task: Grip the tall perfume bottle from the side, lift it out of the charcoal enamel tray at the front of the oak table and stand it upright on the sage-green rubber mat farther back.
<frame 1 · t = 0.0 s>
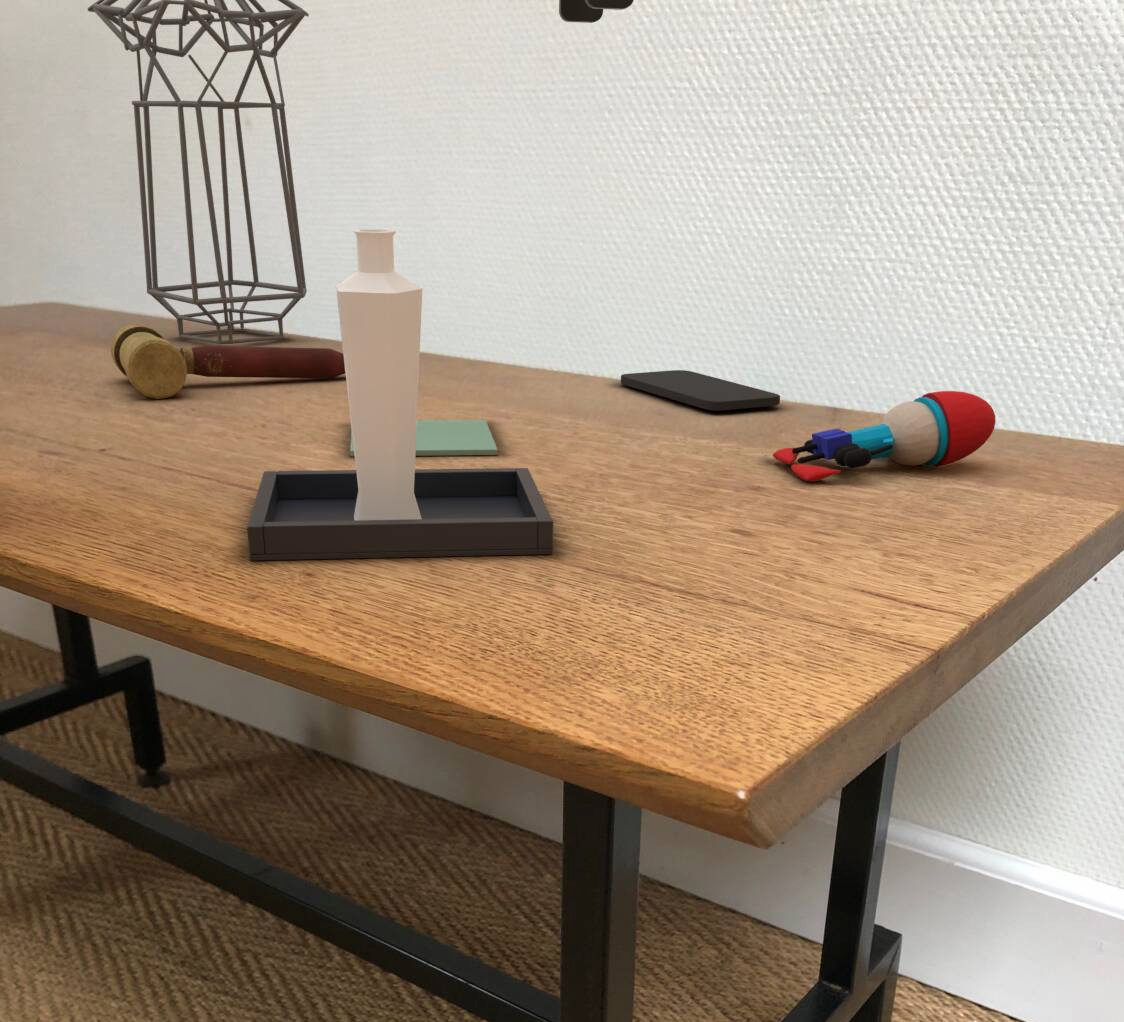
hand: (593, 15, 61), 25 cm above the table, tool pointing down, fingers open, 8 cm apart
geometric lantern: (229, 342, 131), on the table
tray: (401, 526, 71), on the table
gavel: (249, 385, 109), on the table
toy figure: (886, 470, 86), on the table
perfume bottle: (382, 524, 70), resting on tray
mat: (421, 439, 90), on the table
phone: (696, 396, 108), on the table
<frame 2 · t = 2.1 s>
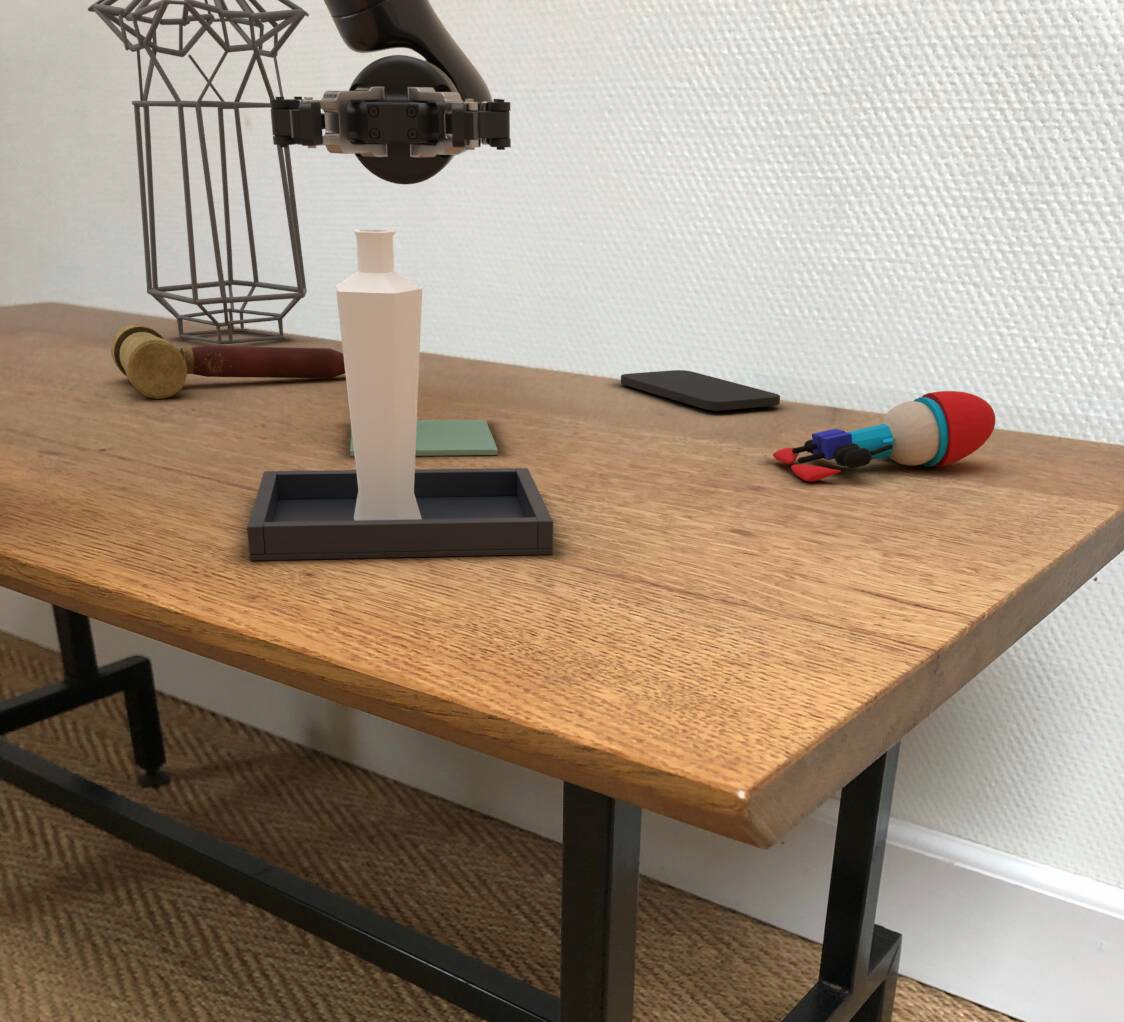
hand: (382, 125, 71), 20 cm above the table, tool horizontal, fingers open, 8 cm apart
nothing on the table moved.
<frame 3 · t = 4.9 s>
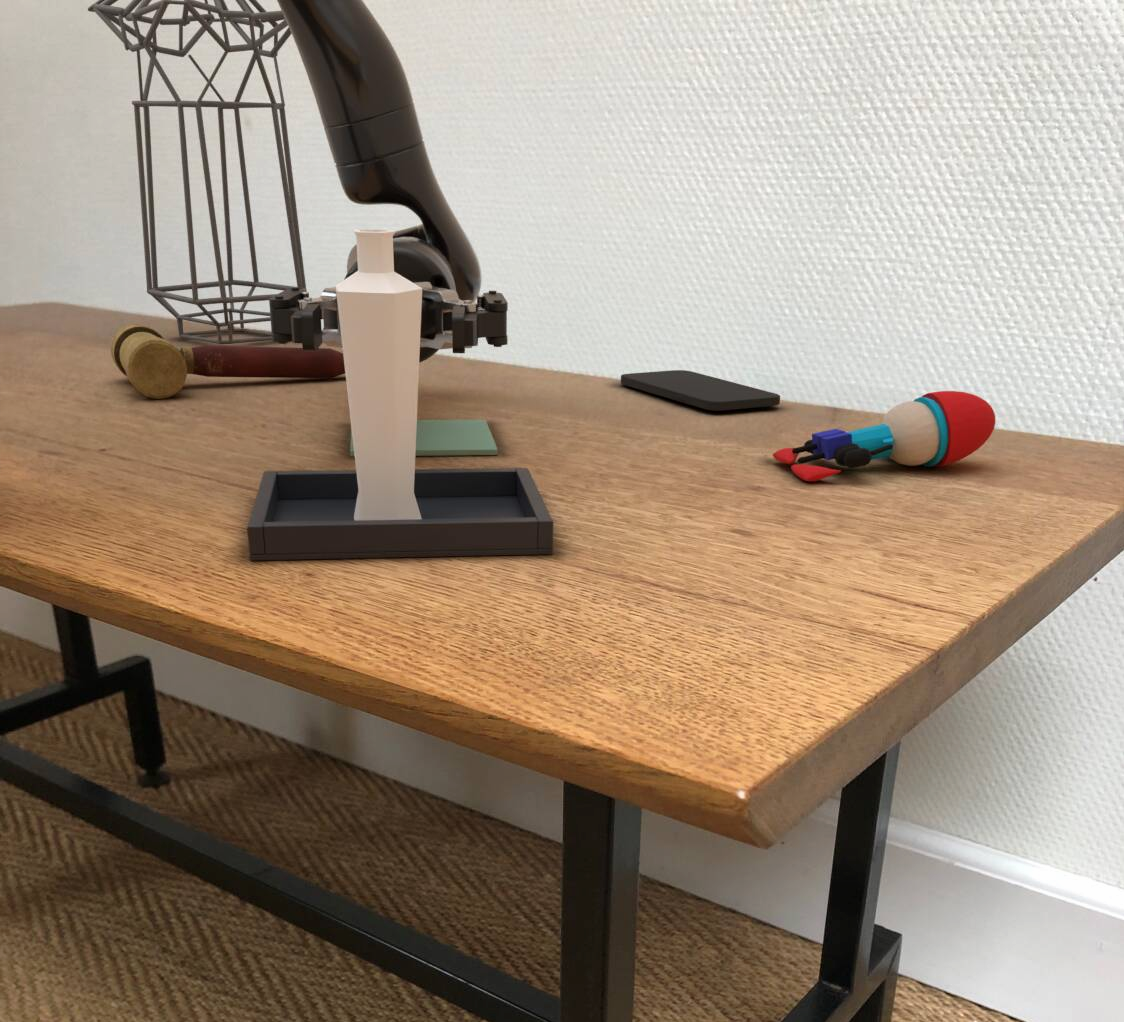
hand: (383, 333, 72), 9 cm above the table, tool horizontal, fingers open, 8 cm apart
nothing on the table moved.
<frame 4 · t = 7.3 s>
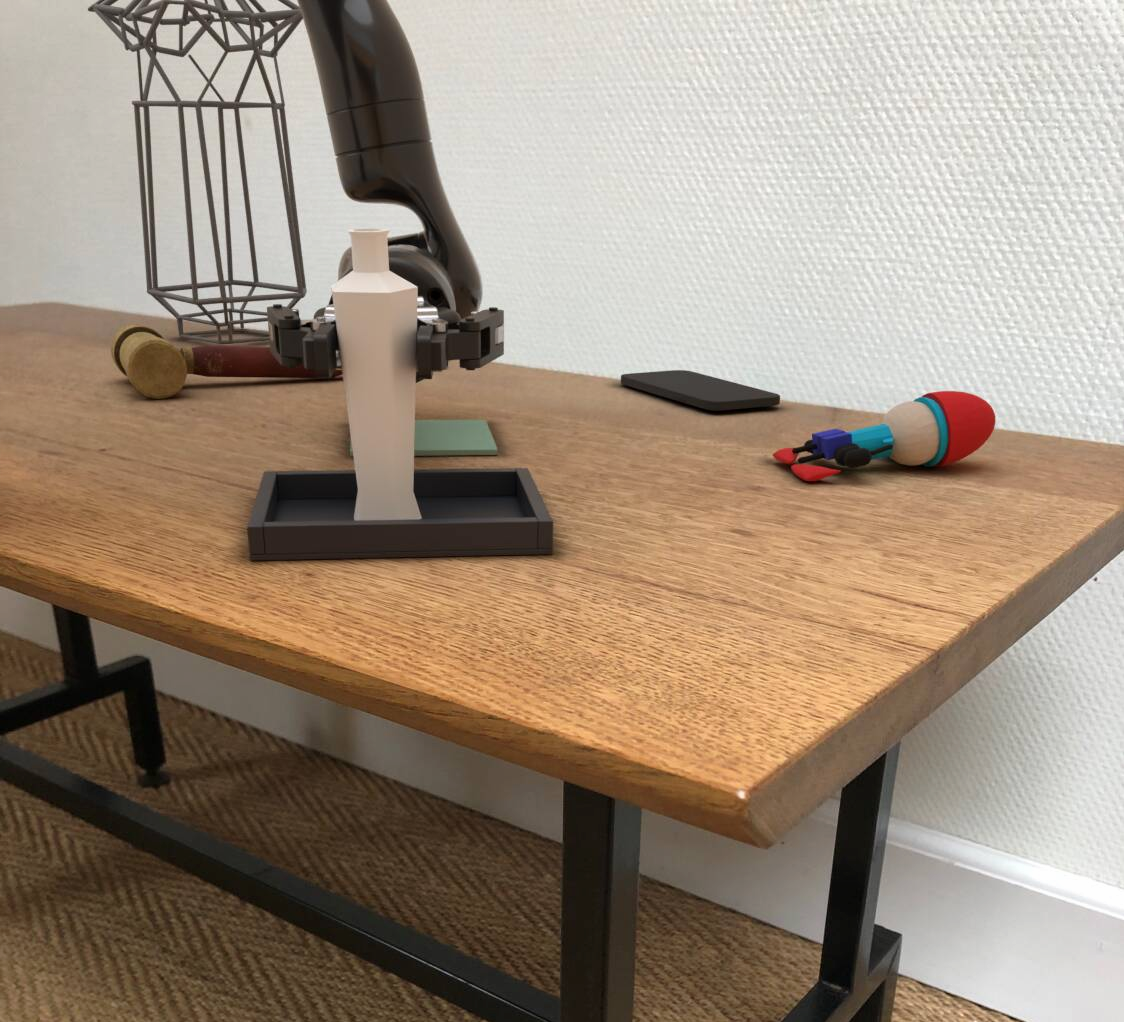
hand: (373, 357, 64), 10 cm above the table, tool horizontal, fingers closed on perfume bottle, 4 cm apart
perfume bottle: (383, 524, 70), resting on tray, touching gripper
everything else where it was.
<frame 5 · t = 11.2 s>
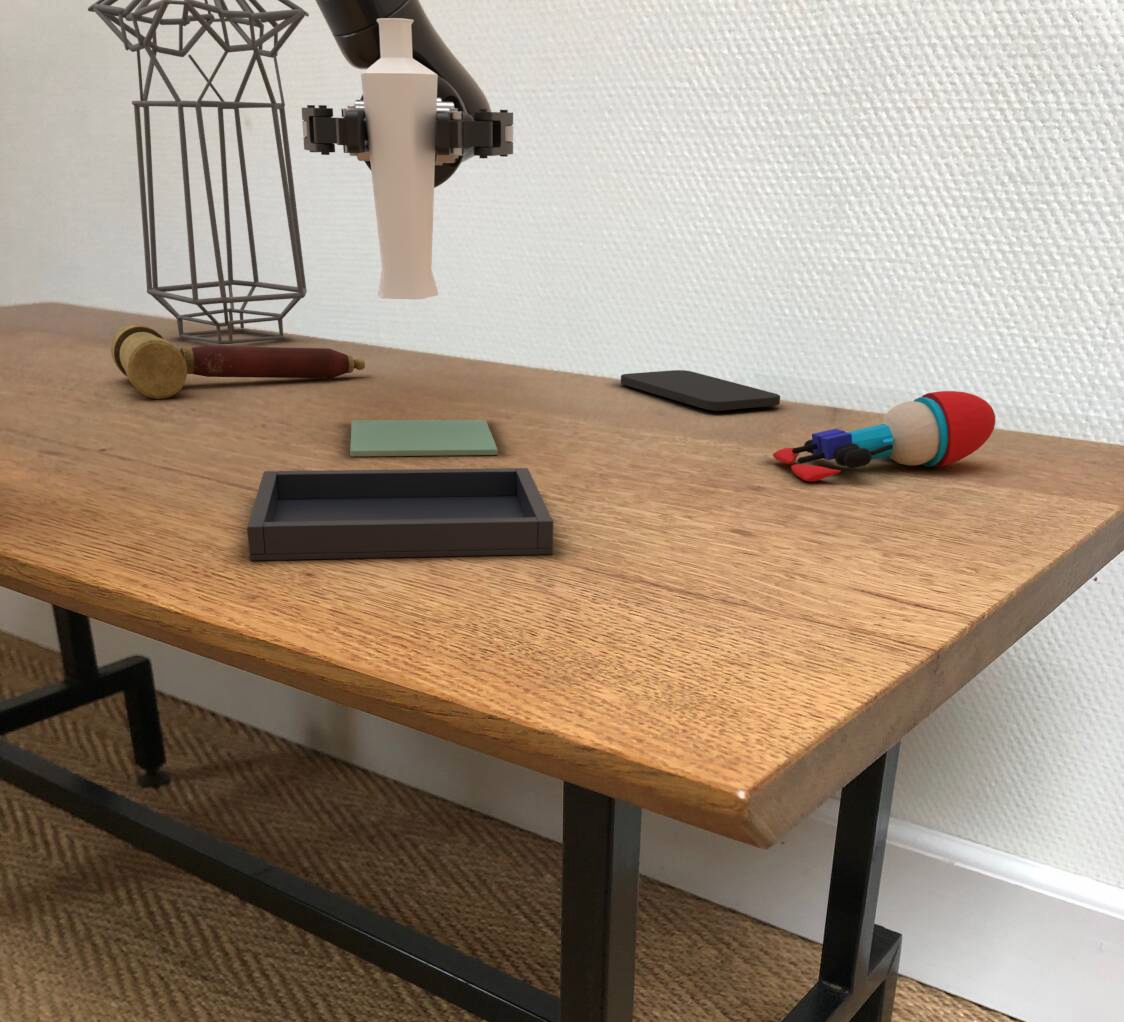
hand: (398, 133, 72), 20 cm above the table, tool horizontal, fingers closed on perfume bottle, 4 cm apart
perfume bottle: (404, 299, 79), point 10 cm above the table, touching gripper
everything else where it was.
when the fingers open (10 cm above the table, at t = 15.4 s): perfume bottle stays where it is, resting on mat.
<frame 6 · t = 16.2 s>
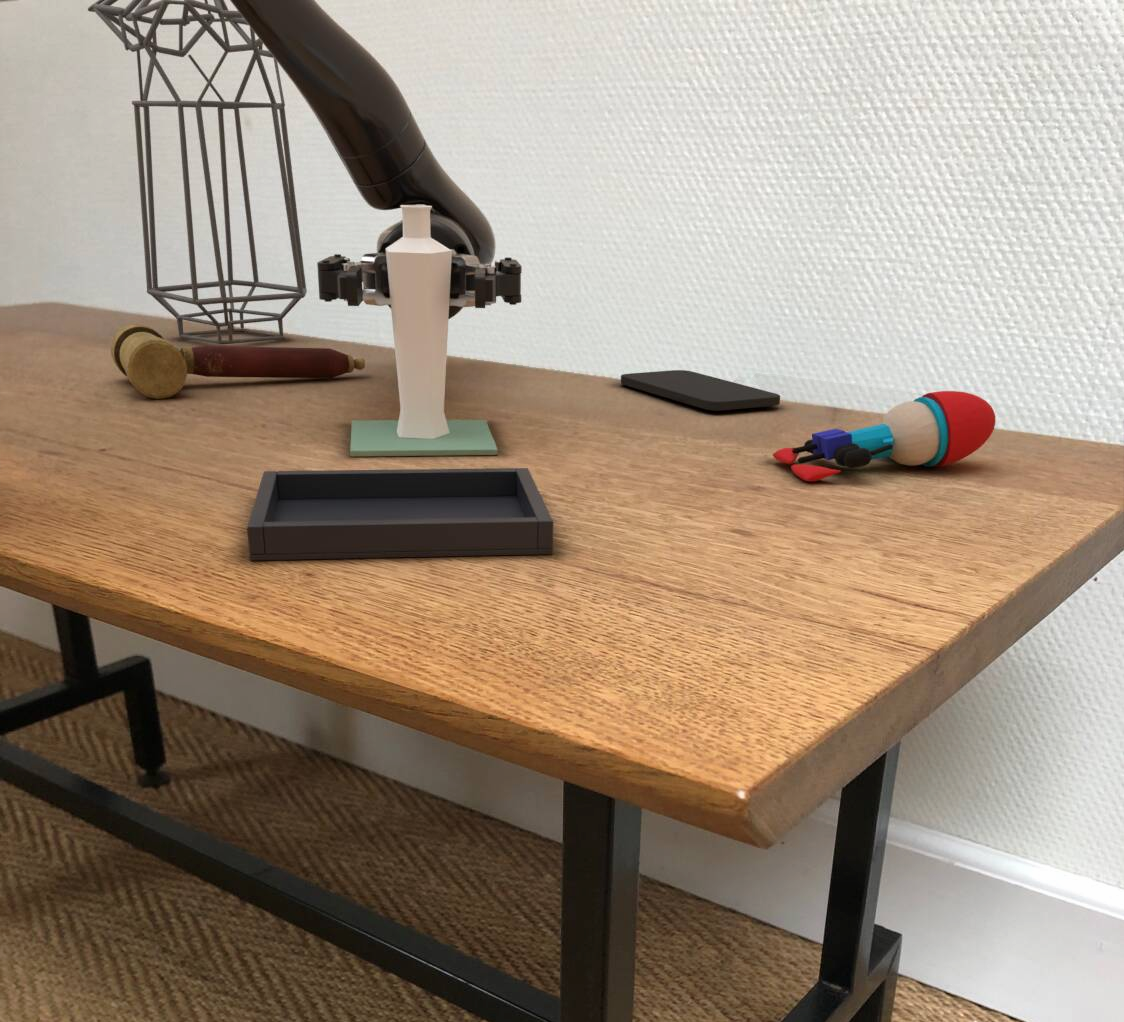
hand: (416, 290, 84), 10 cm above the table, tool horizontal, fingers open, 8 cm apart
perfume bottle: (419, 436, 90), resting on mat
everything else where it was.
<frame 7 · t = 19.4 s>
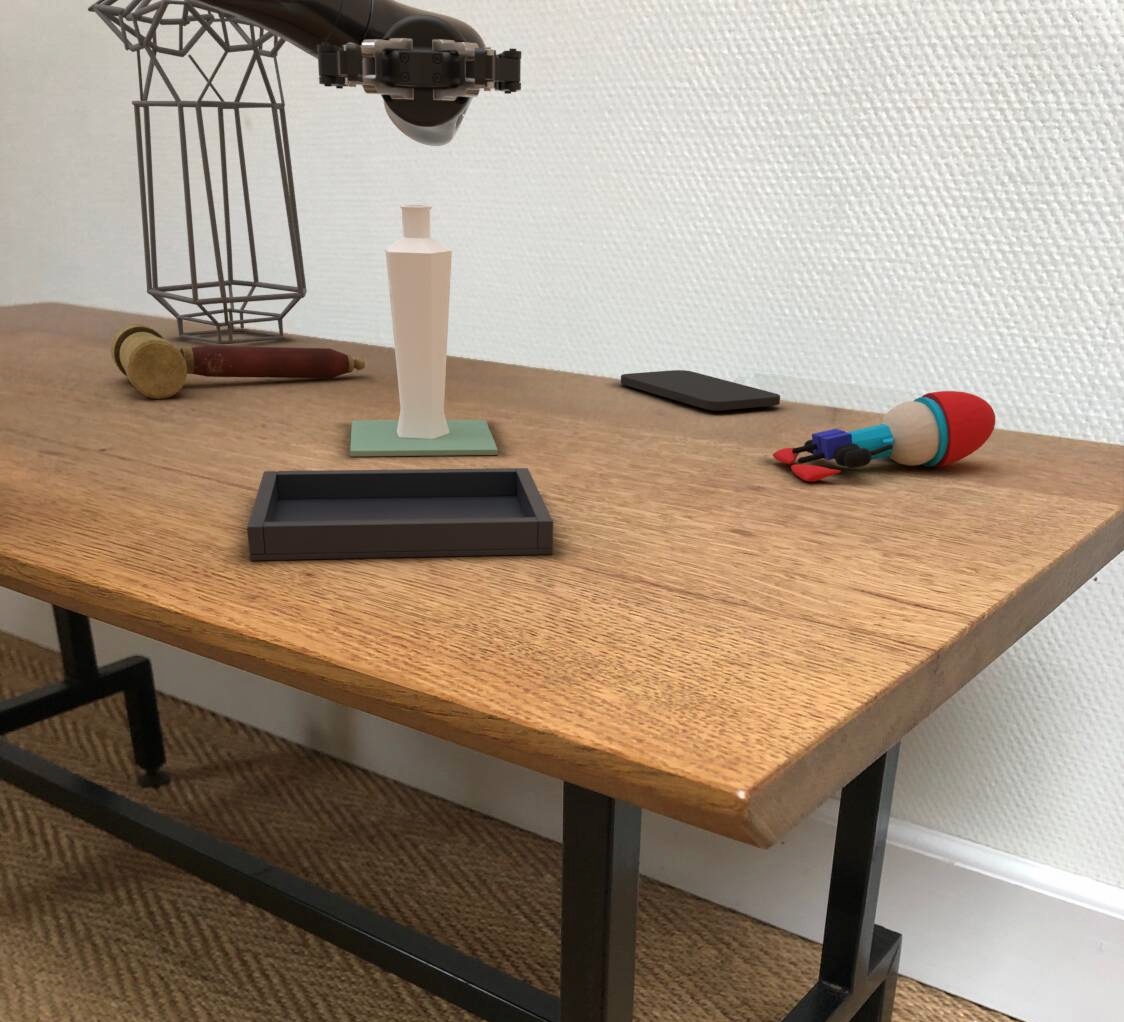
hand: (416, 64, 84), 24 cm above the table, tool horizontal, fingers open, 8 cm apart
nothing on the table moved.
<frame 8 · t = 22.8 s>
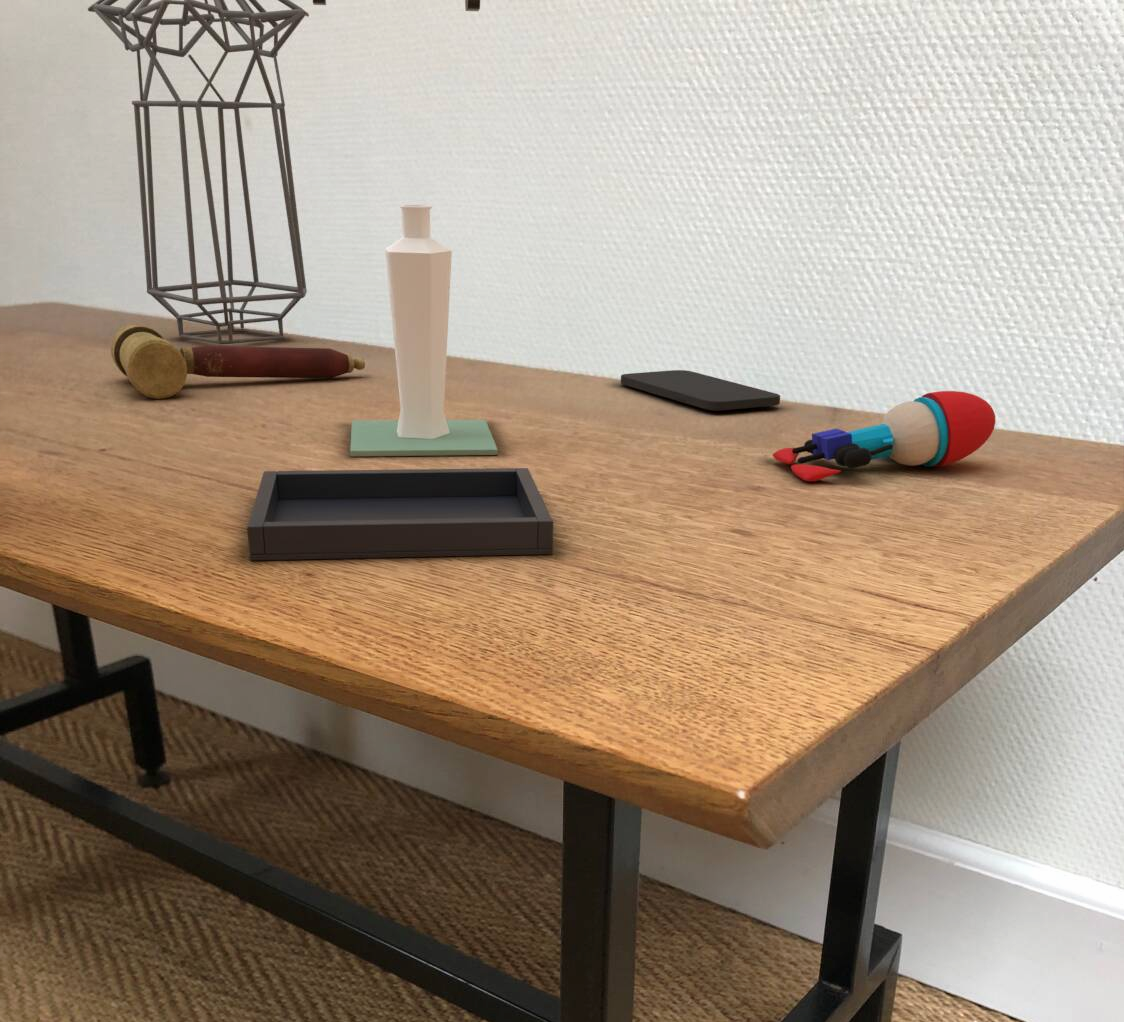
hand: (397, 7, 71), 26 cm above the table, tool pointing down, fingers open, 8 cm apart
nothing on the table moved.
at the end: perfume bottle inside the target area on the mat (0.2 cm from its centre), point 0.2 cm above the mat's base; perfume bottle tilted 0°; perfume bottle touching mat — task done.
